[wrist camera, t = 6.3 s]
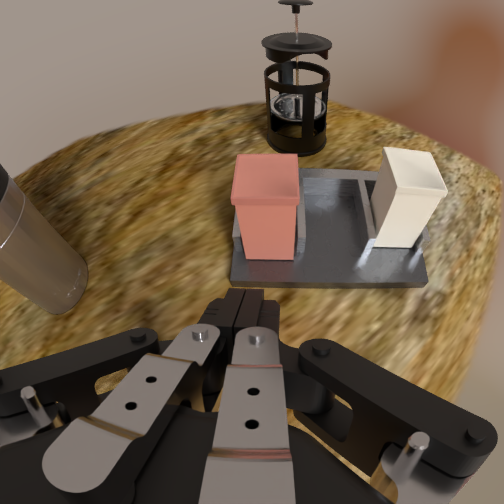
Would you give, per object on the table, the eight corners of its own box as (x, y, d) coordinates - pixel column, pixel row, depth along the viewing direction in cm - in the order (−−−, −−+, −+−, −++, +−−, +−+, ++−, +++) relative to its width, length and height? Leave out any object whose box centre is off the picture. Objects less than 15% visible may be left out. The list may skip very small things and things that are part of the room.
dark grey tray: (423, 287, 30) (439, 269, 26) (232, 286, 32) (225, 267, 28) (400, 194, 37) (410, 171, 33) (243, 189, 39) (239, 165, 35)
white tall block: (413, 249, 30) (448, 191, 22) (371, 248, 31) (397, 186, 23) (403, 212, 33) (430, 152, 25) (364, 210, 34) (383, 146, 25)
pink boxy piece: (295, 261, 31) (299, 198, 23) (244, 260, 32) (230, 198, 23) (294, 220, 34) (297, 154, 25) (248, 219, 34) (237, 154, 26)
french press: (337, 154, 42) (352, 8, 22) (278, 165, 41) (269, 8, 22) (309, 114, 48) (311, -8, 28) (258, 122, 47) (245, -4, 28)
